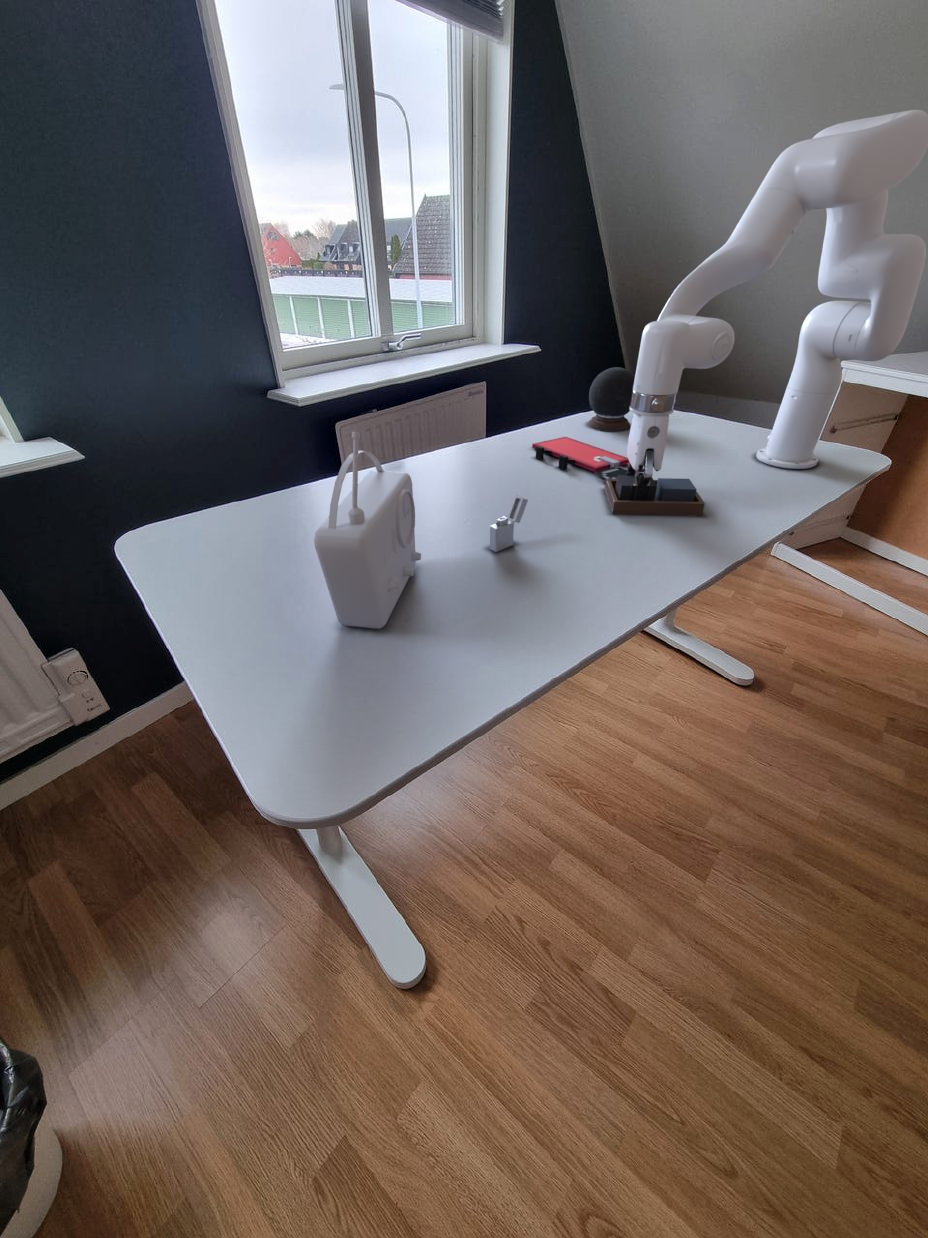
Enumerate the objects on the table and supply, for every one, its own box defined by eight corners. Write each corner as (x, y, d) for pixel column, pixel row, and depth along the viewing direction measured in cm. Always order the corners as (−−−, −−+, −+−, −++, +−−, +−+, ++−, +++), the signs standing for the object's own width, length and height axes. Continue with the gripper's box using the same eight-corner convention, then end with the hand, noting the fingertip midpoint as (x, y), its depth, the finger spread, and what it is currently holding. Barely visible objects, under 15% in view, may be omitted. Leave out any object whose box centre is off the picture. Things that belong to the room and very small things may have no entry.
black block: (614, 493, 101) (617, 474, 99) (647, 494, 101) (651, 475, 98) (618, 505, 97) (621, 485, 95) (652, 505, 96) (657, 486, 94)
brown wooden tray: (604, 490, 104) (606, 478, 103) (685, 491, 103) (688, 480, 101) (612, 513, 95) (614, 501, 94) (701, 515, 94) (705, 503, 92)
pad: (654, 494, 101) (658, 478, 99) (684, 495, 100) (689, 478, 98) (660, 506, 96) (664, 488, 94) (692, 506, 96) (696, 489, 94)
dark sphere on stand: (641, 429, 138) (652, 370, 129) (599, 434, 136) (607, 374, 127) (617, 417, 149) (626, 361, 140) (577, 421, 146) (583, 365, 137)
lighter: (495, 552, 84) (496, 508, 79) (489, 548, 85) (489, 504, 80) (525, 539, 88) (528, 496, 83) (519, 535, 89) (521, 493, 84)
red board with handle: (606, 487, 105) (655, 473, 111) (608, 474, 103) (657, 461, 109) (520, 451, 125) (565, 442, 132) (520, 440, 124) (566, 431, 130)
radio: (390, 642, 65) (363, 452, 50) (331, 636, 66) (287, 449, 52) (428, 560, 82) (417, 400, 67) (380, 556, 84) (359, 398, 69)
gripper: (687, 415, 81) (662, 517, 92) (663, 390, 94) (644, 482, 105) (640, 414, 81) (621, 516, 92) (623, 390, 95) (608, 481, 106)
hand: (633, 497), depth 99 cm, fingers closed on black block, 5 cm apart
